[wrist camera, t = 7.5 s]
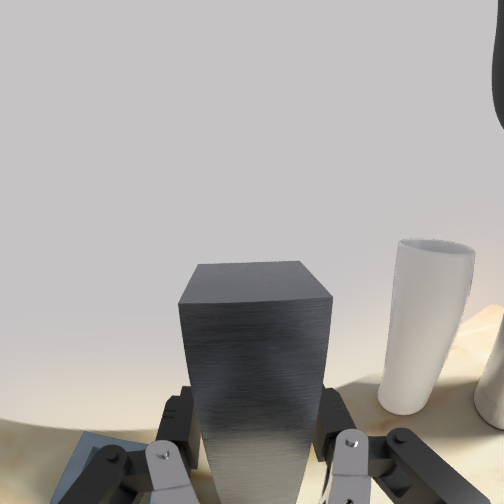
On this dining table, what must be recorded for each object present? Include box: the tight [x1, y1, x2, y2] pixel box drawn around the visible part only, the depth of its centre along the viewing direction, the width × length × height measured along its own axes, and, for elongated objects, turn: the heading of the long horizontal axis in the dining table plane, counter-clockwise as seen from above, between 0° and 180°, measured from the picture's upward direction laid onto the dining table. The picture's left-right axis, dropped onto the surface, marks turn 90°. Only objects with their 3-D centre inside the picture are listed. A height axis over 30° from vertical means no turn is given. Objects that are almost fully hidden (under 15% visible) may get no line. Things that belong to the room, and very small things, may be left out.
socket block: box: [50, 431, 155, 504], centre depth 10 cm, size 8×8×3 cm
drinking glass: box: [378, 238, 475, 415], centre depth 18 cm, size 7×7×15 cm
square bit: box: [178, 261, 333, 504], centre depth 9 cm, size 4×4×16 cm
